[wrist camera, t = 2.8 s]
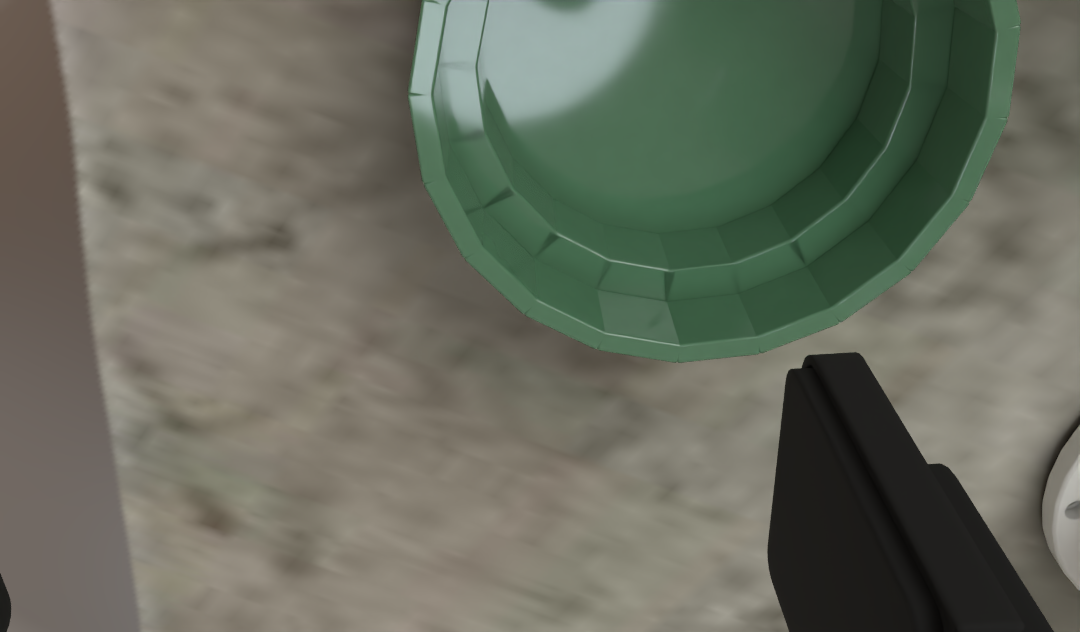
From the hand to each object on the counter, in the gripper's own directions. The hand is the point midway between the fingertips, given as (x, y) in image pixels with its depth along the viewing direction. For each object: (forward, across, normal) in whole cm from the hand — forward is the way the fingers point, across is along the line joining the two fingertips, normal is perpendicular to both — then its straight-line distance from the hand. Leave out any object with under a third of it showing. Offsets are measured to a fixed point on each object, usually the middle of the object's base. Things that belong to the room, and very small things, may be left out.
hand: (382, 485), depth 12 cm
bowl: (+20, -7, +1) cm, 21 cm away
